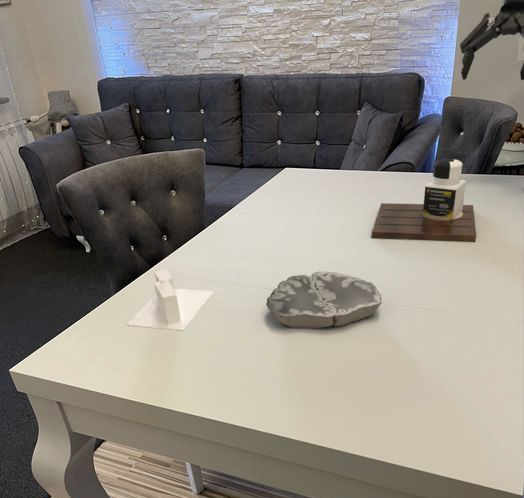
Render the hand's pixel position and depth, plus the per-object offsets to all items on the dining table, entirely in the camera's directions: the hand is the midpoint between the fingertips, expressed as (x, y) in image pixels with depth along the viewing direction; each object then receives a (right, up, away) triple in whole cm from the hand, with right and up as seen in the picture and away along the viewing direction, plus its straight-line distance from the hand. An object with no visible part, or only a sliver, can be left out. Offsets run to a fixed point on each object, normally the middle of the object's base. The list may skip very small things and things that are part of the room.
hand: (491, 76), depth 127 cm
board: (-17, -36, -2) cm, 40 cm away
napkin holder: (-71, -58, -29) cm, 96 cm away
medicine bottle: (-12, -33, -2) cm, 36 cm away
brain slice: (-45, -58, -33) cm, 80 cm away
